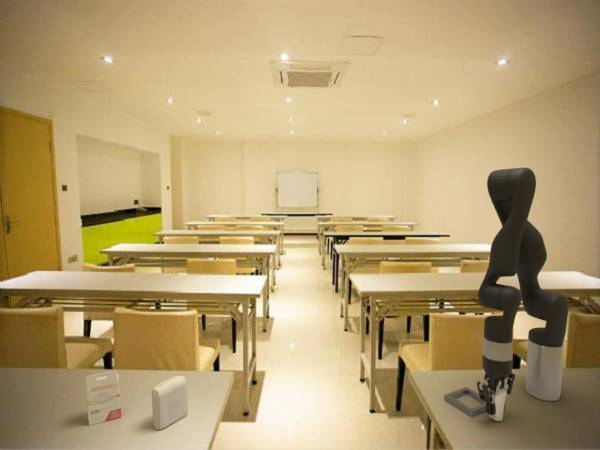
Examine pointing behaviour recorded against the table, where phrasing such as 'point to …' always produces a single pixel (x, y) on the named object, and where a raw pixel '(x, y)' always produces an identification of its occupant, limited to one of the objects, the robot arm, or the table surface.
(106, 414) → the ink cartridge box
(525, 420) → the table surface
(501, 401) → the milkshake
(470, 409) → the grey square frame
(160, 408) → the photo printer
